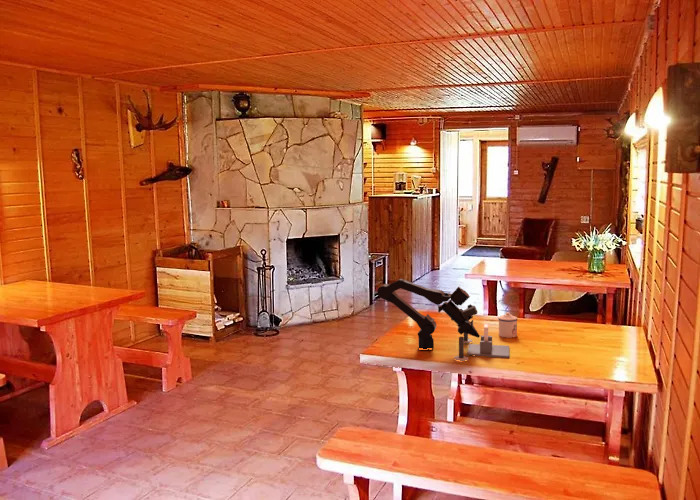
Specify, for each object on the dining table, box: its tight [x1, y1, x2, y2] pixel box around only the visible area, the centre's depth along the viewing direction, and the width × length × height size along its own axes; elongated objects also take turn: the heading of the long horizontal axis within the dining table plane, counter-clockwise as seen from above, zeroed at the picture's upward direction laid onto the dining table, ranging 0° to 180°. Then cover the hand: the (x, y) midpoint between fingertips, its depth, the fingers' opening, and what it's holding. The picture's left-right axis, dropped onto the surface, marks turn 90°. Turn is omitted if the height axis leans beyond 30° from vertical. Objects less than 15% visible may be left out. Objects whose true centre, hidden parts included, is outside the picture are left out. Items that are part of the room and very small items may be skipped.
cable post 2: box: [463, 333, 473, 343], centre depth 276 cm, size 6×6×10 cm
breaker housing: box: [466, 335, 510, 359], centre depth 260 cm, size 18×16×6 cm
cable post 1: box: [453, 336, 469, 361], centre depth 249 cm, size 6×6×10 cm
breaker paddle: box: [483, 323, 489, 341], centre depth 259 cm, size 2×6×10 cm, turn 165°
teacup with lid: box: [498, 311, 518, 338], centre depth 287 cm, size 12×9×12 cm
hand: (479, 336), depth 260 cm, fingers closed
